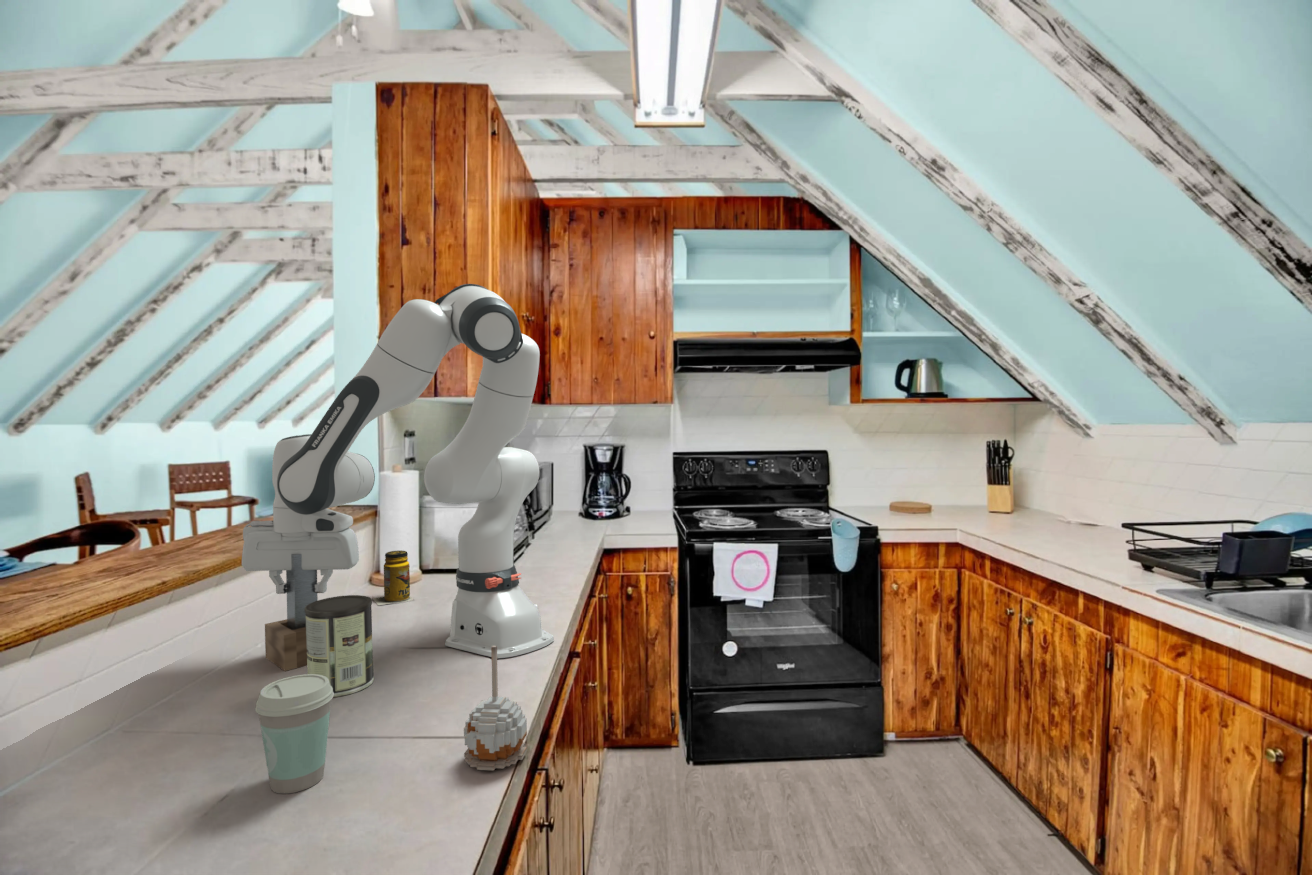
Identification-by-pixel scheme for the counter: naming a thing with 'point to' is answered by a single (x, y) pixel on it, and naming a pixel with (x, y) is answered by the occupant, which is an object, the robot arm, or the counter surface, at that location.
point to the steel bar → (299, 592)
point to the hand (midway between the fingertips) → (301, 592)
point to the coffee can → (341, 642)
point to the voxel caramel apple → (495, 730)
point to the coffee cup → (295, 730)
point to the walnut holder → (285, 645)
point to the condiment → (395, 579)
